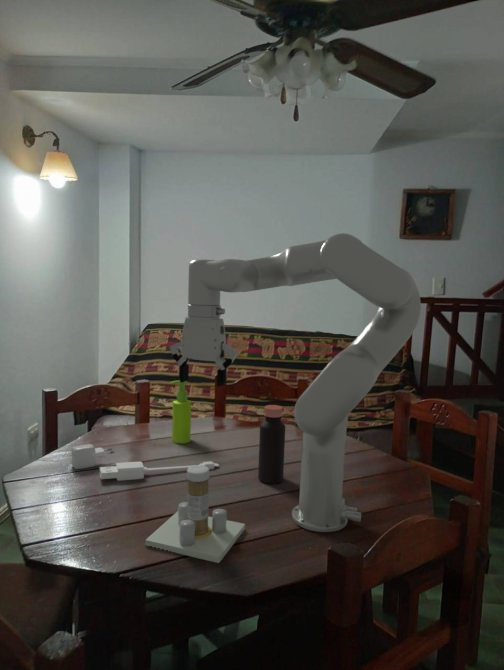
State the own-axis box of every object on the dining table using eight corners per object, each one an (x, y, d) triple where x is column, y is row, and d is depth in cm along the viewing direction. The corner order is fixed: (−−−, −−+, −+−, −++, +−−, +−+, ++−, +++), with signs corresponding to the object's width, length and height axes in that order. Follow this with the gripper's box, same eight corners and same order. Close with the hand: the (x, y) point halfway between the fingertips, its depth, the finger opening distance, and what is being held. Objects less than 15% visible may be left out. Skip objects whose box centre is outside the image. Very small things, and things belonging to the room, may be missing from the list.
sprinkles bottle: (200, 523, 107) (201, 462, 106) (213, 531, 104) (213, 469, 102) (182, 529, 104) (182, 467, 103) (194, 538, 101) (195, 474, 99)
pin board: (244, 529, 108) (245, 506, 107) (218, 563, 95) (219, 537, 94) (178, 515, 113) (178, 493, 113) (145, 545, 100) (145, 520, 100)
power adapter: (110, 459, 146) (110, 439, 145) (115, 464, 142) (115, 444, 141) (70, 465, 140) (70, 445, 140) (74, 471, 136) (74, 450, 136)
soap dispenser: (167, 438, 166) (168, 379, 164) (188, 437, 168) (189, 378, 166) (170, 444, 160) (171, 383, 158) (191, 442, 163) (193, 382, 160)
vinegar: (287, 478, 136) (290, 406, 134) (274, 486, 131) (278, 412, 128) (266, 472, 140) (269, 402, 138) (253, 480, 134) (255, 407, 132)
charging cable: (220, 473, 141) (221, 462, 140) (100, 483, 129) (101, 470, 129) (215, 467, 145) (215, 456, 145) (99, 475, 134) (99, 463, 133)
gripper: (243, 313, 119) (241, 384, 121) (178, 309, 125) (177, 377, 127) (231, 315, 112) (229, 390, 114) (163, 311, 118) (162, 382, 120)
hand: (202, 383), depth 120 cm, fingers open, 9 cm apart
